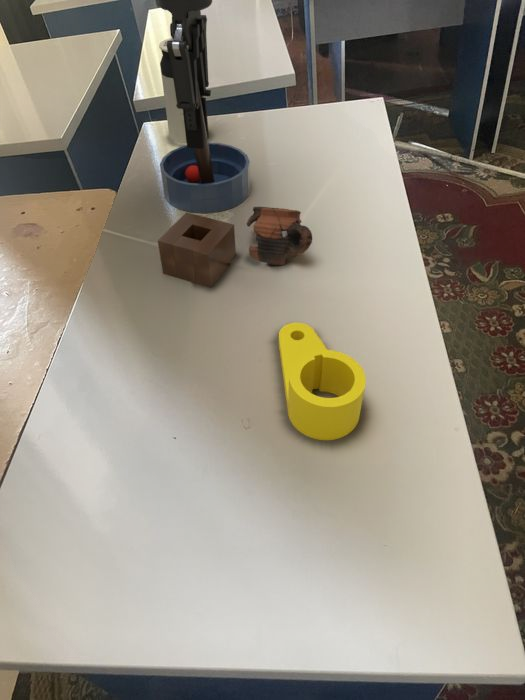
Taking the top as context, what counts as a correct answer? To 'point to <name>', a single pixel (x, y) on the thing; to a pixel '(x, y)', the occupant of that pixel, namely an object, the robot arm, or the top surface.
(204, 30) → the robot arm
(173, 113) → the travel mug
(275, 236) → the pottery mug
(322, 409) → the crank
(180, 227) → the holder
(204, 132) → the stick
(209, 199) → the bowl
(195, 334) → the top surface
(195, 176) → the ball
